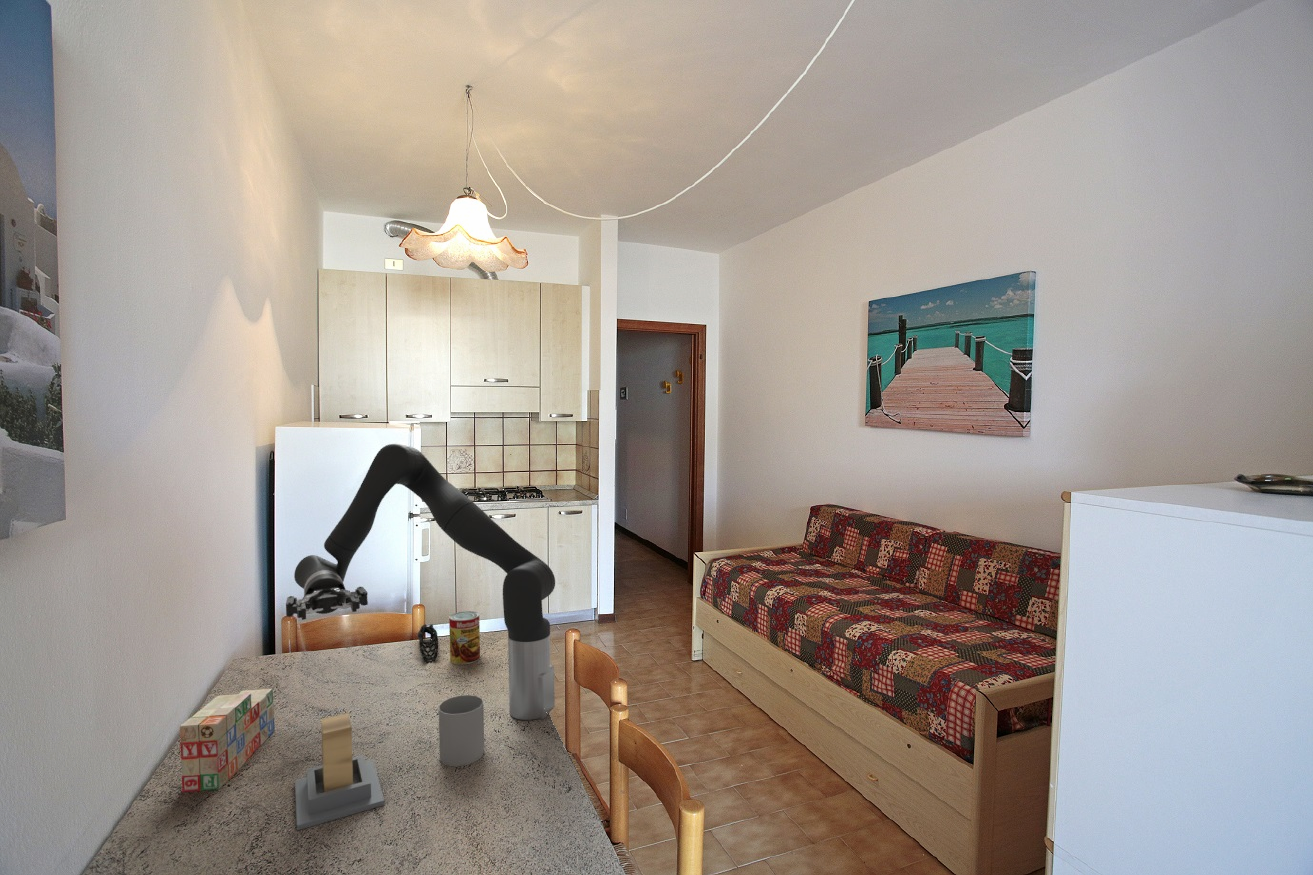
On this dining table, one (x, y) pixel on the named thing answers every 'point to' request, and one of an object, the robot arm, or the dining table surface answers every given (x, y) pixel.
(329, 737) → the wooden block
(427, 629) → the decorative element
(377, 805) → the grey socket base
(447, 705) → the cup
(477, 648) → the canned food
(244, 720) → the stack of blocks
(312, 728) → the dining table surface
